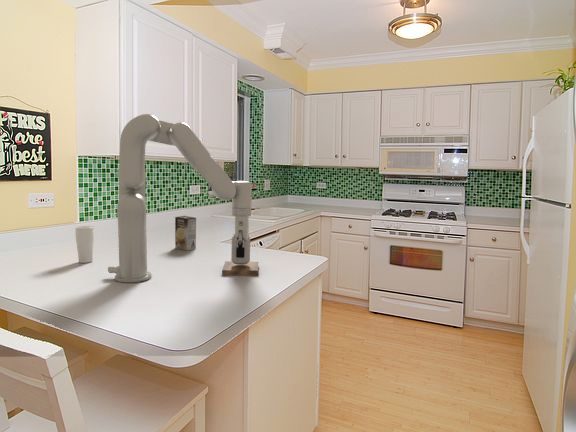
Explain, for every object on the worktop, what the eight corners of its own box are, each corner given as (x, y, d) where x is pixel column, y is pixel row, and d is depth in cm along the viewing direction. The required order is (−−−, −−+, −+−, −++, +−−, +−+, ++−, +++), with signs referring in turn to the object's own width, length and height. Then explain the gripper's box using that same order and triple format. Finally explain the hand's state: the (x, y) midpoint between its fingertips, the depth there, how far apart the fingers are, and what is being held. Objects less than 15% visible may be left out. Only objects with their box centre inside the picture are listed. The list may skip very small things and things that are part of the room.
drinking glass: (97, 262, 164) (96, 227, 162) (80, 264, 159) (78, 228, 157) (91, 259, 168) (89, 225, 166) (74, 261, 163) (72, 226, 161)
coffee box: (174, 248, 195) (174, 216, 193) (184, 246, 201) (184, 215, 199) (187, 250, 191) (187, 218, 189) (196, 248, 196) (196, 217, 194)
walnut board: (222, 275, 150) (222, 270, 150) (225, 265, 164) (225, 261, 164) (258, 275, 151) (258, 270, 151) (258, 266, 165) (258, 261, 165)
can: (240, 259, 162) (241, 231, 161) (253, 263, 157) (254, 234, 156) (227, 262, 156) (227, 233, 155) (240, 266, 152) (240, 236, 150)
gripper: (250, 214, 146) (249, 260, 148) (251, 209, 163) (250, 250, 165) (230, 214, 145) (229, 260, 148) (233, 209, 163) (232, 250, 165)
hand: (240, 254), depth 156 cm, fingers closed on can, 7 cm apart
